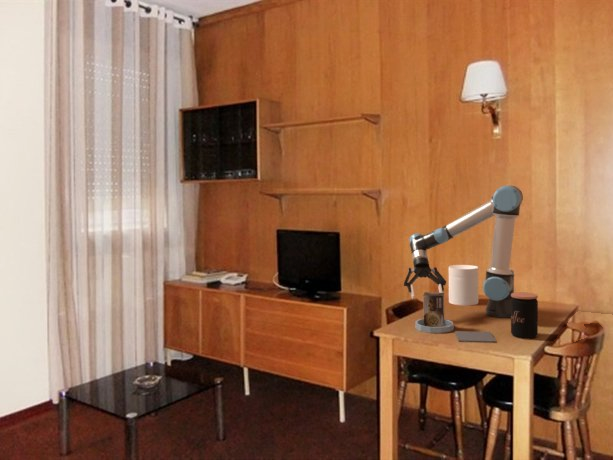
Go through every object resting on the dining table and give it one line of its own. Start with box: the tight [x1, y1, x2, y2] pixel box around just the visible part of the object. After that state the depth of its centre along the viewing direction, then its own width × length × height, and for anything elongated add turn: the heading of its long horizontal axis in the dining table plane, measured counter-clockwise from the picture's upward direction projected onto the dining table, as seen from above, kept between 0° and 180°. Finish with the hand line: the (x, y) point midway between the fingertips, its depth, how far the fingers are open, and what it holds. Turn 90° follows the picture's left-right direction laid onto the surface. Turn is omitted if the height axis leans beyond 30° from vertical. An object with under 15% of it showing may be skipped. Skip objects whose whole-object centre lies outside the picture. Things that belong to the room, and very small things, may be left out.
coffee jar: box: [510, 291, 539, 340], centre depth 220 cm, size 11×11×18 cm
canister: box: [448, 264, 479, 306], centre depth 287 cm, size 16×16×20 cm
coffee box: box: [422, 291, 446, 327], centre depth 236 cm, size 9×6×16 cm
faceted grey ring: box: [414, 318, 455, 334], centre depth 237 cm, size 17×17×2 cm
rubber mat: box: [454, 330, 497, 343], centre depth 220 cm, size 15×14×1 cm
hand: (427, 297), depth 243 cm, fingers open, 13 cm apart
